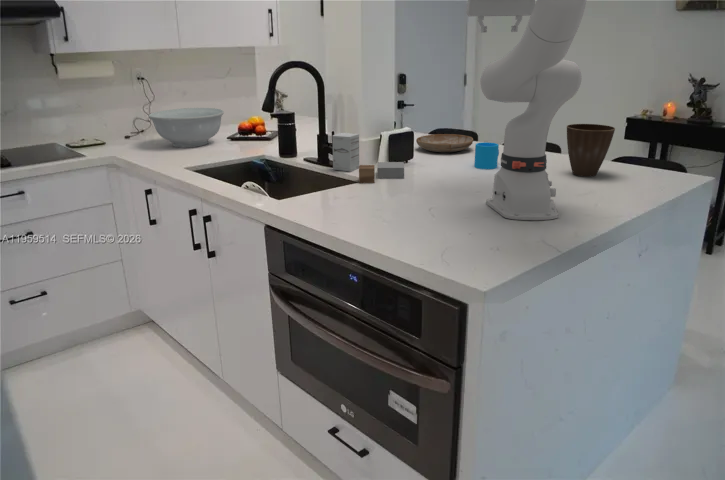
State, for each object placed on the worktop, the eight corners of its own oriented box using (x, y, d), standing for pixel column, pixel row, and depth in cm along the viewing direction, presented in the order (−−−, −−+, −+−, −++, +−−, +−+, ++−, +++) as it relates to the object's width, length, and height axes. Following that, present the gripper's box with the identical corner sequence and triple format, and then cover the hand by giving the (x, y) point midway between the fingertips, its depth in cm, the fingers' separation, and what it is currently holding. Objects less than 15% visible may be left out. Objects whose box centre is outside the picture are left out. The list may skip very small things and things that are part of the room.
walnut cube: (374, 183, 180) (374, 168, 178) (359, 183, 180) (358, 168, 178) (374, 179, 184) (374, 164, 183) (359, 179, 184) (359, 165, 183)
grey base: (404, 179, 185) (404, 167, 183) (377, 179, 185) (377, 167, 184) (403, 173, 193) (403, 162, 192) (378, 173, 194) (377, 162, 192)
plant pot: (587, 167, 195) (593, 122, 190) (618, 177, 182) (625, 128, 177) (552, 171, 191) (557, 125, 185) (581, 181, 178) (587, 131, 172)
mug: (489, 170, 194) (490, 147, 191) (469, 167, 200) (471, 144, 197) (506, 164, 202) (508, 142, 199) (487, 161, 208) (489, 140, 205)
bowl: (172, 154, 230) (167, 119, 224) (141, 144, 252) (136, 112, 247) (239, 144, 250) (236, 111, 245) (205, 136, 272) (202, 106, 267)
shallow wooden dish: (422, 144, 244) (422, 132, 243) (475, 146, 237) (476, 134, 236) (410, 154, 224) (410, 142, 222) (468, 157, 217) (469, 144, 215)
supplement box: (332, 170, 198) (331, 135, 193) (342, 166, 204) (341, 132, 200) (350, 172, 195) (349, 136, 190) (360, 168, 201) (359, 133, 196)
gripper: (469, -18, 160) (467, 32, 165) (539, -19, 160) (534, 31, 165) (465, -16, 166) (463, 32, 170) (532, -17, 166) (528, 31, 171)
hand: (498, 32), depth 168 cm, fingers open, 8 cm apart
